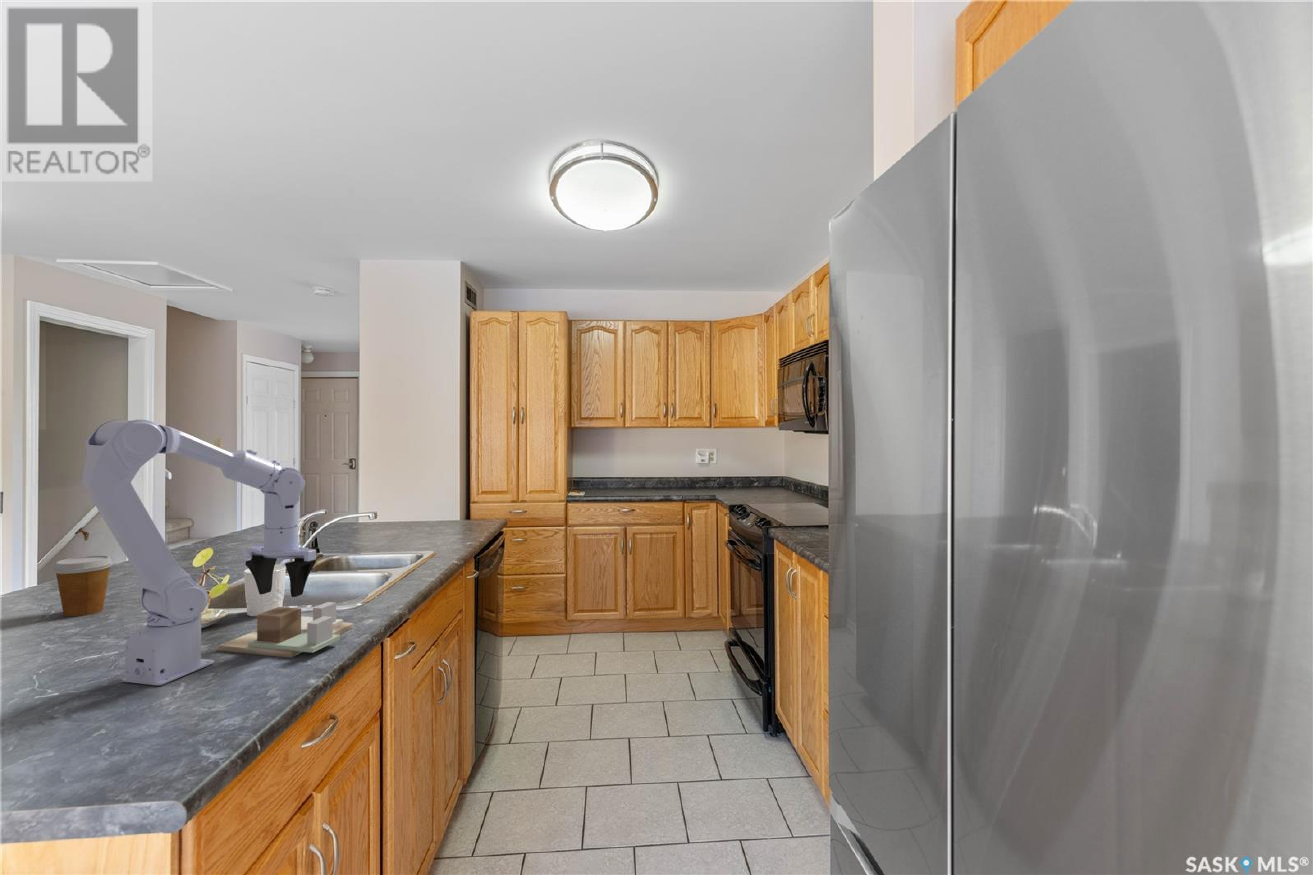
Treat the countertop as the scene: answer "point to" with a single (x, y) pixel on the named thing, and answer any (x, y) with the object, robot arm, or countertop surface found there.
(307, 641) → the green strip
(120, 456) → the robot arm
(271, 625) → the walnut block
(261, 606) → the white cup
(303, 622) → the white strip
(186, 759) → the countertop surface
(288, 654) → the base
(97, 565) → the disposable coffee cup
